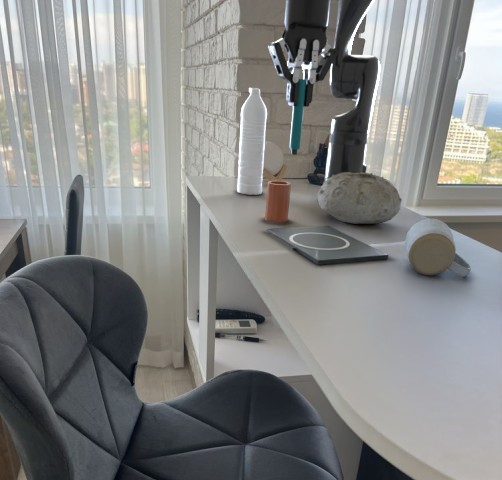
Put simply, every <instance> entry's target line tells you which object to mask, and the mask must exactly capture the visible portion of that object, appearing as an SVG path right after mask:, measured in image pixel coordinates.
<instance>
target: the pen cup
mask: <svg viewBox="0 0 502 480" xmlns="http://www.w3.org/2000/svg"><path fill="white" fill-rule="evenodd" d="M291 188H292V183H291V182H289V181H284V180H269V181H268V180H267V185H266V198H265V199H266V200H265V212H264V219H265V221H268V222H273V223H285V222H287V221H289V220H288V219H289V210H290V209H289V208H290V199H291Z"/></svg>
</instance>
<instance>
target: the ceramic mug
mask: <svg viewBox="0 0 502 480" xmlns="http://www.w3.org/2000/svg"><path fill="white" fill-rule="evenodd" d="M404 247H405V251H406V257H407V261H408V263H409V265H410V266H411V268H412V269H413V270H414V271H416V272H417V273H419V274H421V275H423V276H424V275H425V276H436V275H437V276H438V275H439V274H442V273H444V272H445V271H446V270H448V271H449V272H451V273H453V274H454V275H456V276H458V277H462V278H464V277H467V276H468V275H469V273H470V272H471V271H472V267H471V265H470V263H468V261H466V260H465V259H464V258H463V257H462V256H460V255H459V254H458V253H456V250H457V249H456V243H455V240H454V234H453V232H452V230H451V228H450V227H449V226H448V224H447V223H445V222H444V221H442V220H441V219H437V218H424V219H420V220H418V221H416V222H415V223H414V224H413V225H412V226H411V227H410V228H409V230H408V231H407V233H406V236H405V241H404Z"/></svg>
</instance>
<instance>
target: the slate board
mask: <svg viewBox="0 0 502 480" xmlns="http://www.w3.org/2000/svg"><path fill="white" fill-rule="evenodd" d="M266 231H267V233H269V234H272V235H273V236H275V237H276V238H278V239H280V241H282V242H284V243H286V244H288V245H289V246H291V247H292V248H291V249H292V250H293V251H295V252H296V253H298V254H300V255H302V256H303V257H305V258H306V259H308V260H309V261H311V262H313V263H314V264H316V266H317V265H318V266H320V265H321V266H322V265H333V264H334V265H335V264H343V263H345V264H346V263H357V262H367V261H380V260H388V259H389V254H388V253H385V252H384V251H381V250H379V249H378V248H376V247H373V246H371V245H368V244H367V243H366V242H363V241H361V240H359V239H357V238H355V237H353V236H351V235H349V234H346V233H344V232H342V231H341V230H338V229H336V228H334V227H332V226H330V225H316V226H315V225H313V226H295V227H294V226H293V227H275V228H274V227H272V228H266Z"/></svg>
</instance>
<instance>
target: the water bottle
mask: <svg viewBox="0 0 502 480" xmlns="http://www.w3.org/2000/svg"><path fill="white" fill-rule="evenodd" d="M248 92H249V95H248V97H247V98H246V100H245V102H244V103H243V104H242V106H241V110H240V127H239V130H240V131H239V145H238V146H239V149H238V150H239V151H238V169H237V173H238V174H237V186H236V187H237V188H236V189H237V191H236V192H237V193H238V194H241V195H247V196H253V195H254V196H257V195H261V194H262V192H263V180H264V179H263V174H264V163H265V162H264V160H265V149H266V147H265V146H266V143H265V142H266V131H267V130H266V128H267V119H268V110H267V107H266V104H265V103H264V101H263V99H262V97H261V89H260V88H257V87H249V88H248Z"/></svg>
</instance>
